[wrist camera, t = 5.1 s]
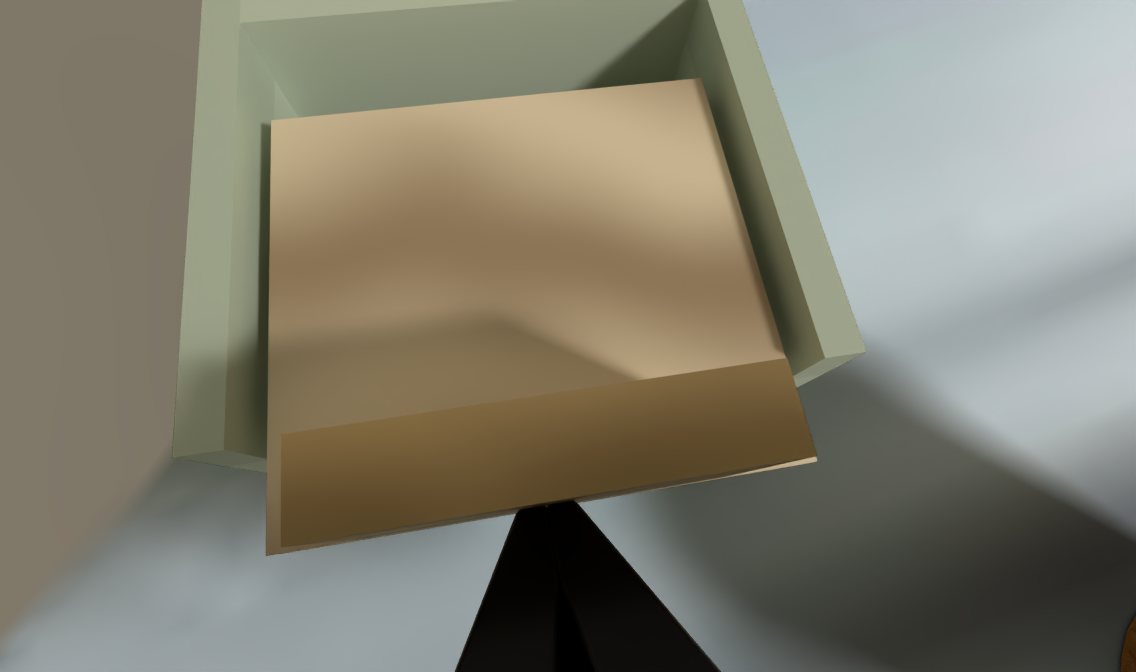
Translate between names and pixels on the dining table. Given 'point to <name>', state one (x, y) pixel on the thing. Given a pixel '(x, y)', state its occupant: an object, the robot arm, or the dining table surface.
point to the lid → (511, 313)
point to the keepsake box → (445, 75)
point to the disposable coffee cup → (1129, 649)
